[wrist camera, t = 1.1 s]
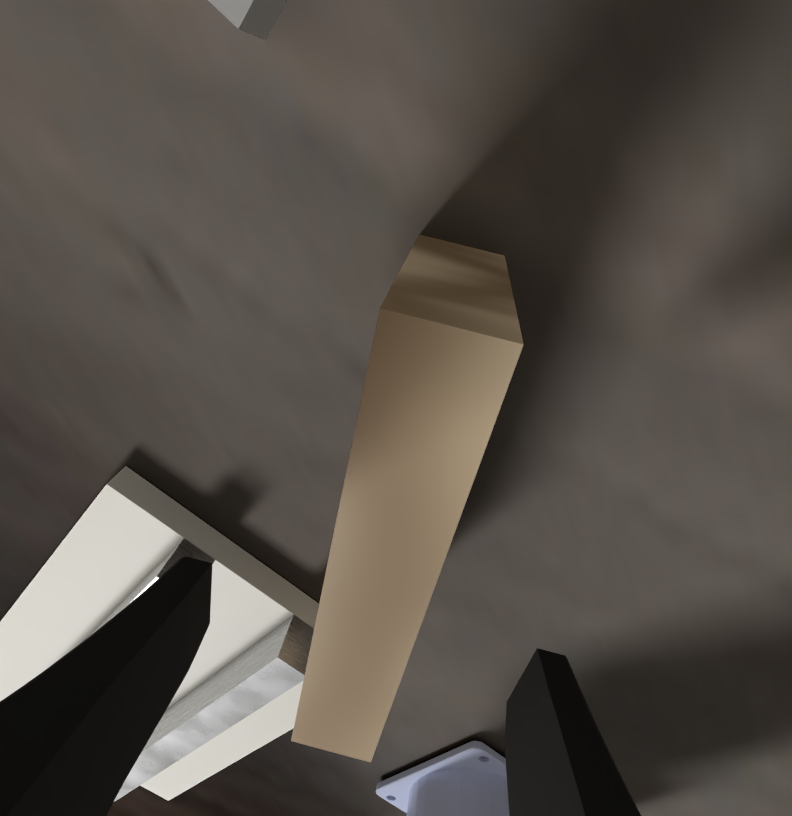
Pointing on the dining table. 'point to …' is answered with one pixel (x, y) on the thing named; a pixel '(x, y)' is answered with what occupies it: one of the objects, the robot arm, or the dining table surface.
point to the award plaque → (251, 14)
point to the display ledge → (220, 648)
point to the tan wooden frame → (406, 482)
